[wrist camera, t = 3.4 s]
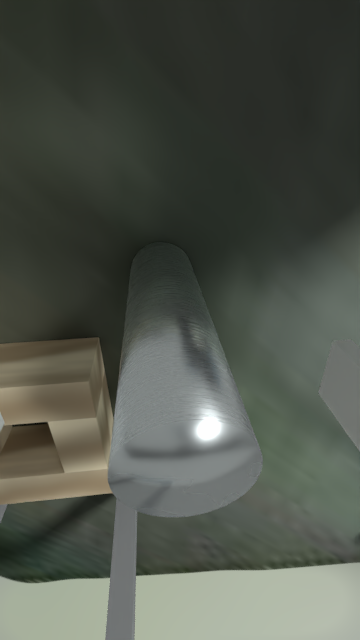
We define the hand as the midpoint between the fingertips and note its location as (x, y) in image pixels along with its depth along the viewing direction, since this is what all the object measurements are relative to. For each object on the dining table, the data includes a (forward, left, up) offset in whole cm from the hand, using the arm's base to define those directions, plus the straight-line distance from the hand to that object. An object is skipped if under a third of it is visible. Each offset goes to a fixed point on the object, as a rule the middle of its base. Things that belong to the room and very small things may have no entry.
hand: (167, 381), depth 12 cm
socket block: (+11, -11, -11) cm, 19 cm away
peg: (0, 0, -11) cm, 11 cm away
